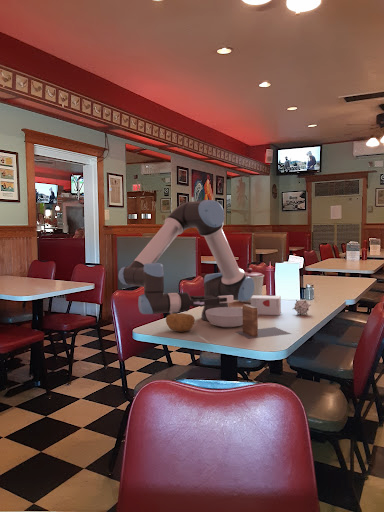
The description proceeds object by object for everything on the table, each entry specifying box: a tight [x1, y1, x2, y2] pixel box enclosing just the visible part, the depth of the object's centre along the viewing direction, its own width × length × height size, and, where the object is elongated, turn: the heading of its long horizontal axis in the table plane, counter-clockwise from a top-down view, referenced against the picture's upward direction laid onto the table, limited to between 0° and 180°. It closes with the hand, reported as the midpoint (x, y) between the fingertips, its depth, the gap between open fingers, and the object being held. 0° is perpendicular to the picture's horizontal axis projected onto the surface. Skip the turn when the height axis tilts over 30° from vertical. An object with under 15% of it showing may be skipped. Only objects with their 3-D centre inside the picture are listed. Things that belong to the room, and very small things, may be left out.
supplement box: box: [250, 295, 282, 316], centre depth 216 cm, size 9×9×15 cm
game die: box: [292, 298, 311, 316], centre depth 211 cm, size 9×8×10 cm
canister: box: [240, 267, 265, 304], centre depth 253 cm, size 18×18×21 cm
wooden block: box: [241, 303, 259, 337], centre depth 171 cm, size 2×9×12 cm, turn 20°
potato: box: [165, 312, 196, 333], centre depth 181 cm, size 10×14×8 cm
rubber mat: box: [235, 326, 292, 340], centre depth 174 cm, size 20×13×1 cm, turn 110°
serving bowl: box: [205, 306, 243, 328], centre depth 189 cm, size 21×21×7 cm
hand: (232, 298), depth 168 cm, fingers closed
